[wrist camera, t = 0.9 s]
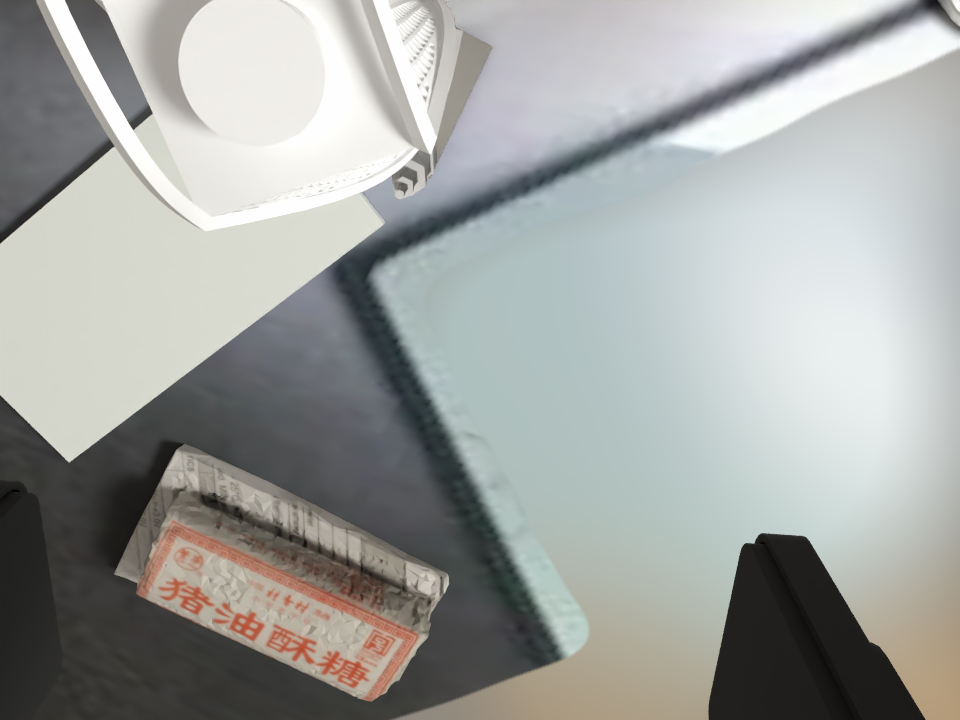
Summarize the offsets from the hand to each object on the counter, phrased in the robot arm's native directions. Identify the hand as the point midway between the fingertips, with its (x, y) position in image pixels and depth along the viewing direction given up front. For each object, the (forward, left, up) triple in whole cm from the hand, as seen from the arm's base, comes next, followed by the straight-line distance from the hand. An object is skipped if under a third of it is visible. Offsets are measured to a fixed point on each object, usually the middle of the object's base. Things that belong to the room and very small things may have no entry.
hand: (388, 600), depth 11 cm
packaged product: (+22, +12, -35) cm, 43 cm away
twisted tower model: (-1, -7, -34) cm, 35 cm away
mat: (+15, -6, -34) cm, 38 cm away
